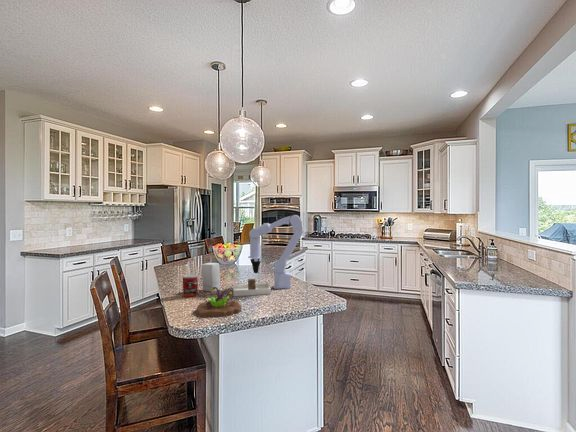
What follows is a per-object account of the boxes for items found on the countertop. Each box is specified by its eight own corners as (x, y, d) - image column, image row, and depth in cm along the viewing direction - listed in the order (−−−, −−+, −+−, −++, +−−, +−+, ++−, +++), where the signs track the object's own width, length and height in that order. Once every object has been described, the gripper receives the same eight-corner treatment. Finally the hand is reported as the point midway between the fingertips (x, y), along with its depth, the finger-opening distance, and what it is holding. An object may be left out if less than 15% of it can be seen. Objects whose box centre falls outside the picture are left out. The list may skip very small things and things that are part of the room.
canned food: (182, 298, 164) (182, 277, 164) (183, 294, 172) (183, 274, 172) (197, 297, 166) (197, 276, 166) (198, 293, 174) (197, 273, 174)
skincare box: (220, 289, 181) (220, 263, 181) (212, 292, 175) (211, 264, 175) (210, 288, 185) (209, 262, 185) (201, 290, 180) (201, 263, 180)
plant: (195, 307, 149) (195, 283, 149) (236, 302, 155) (236, 280, 155) (196, 320, 130) (196, 293, 130) (243, 315, 136) (242, 289, 136)
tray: (268, 287, 183) (268, 283, 183) (270, 293, 170) (270, 288, 170) (234, 289, 180) (233, 285, 180) (233, 296, 167) (233, 290, 167)
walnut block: (255, 289, 177) (255, 278, 177) (255, 291, 173) (255, 280, 173) (248, 289, 177) (247, 279, 177) (248, 291, 173) (248, 280, 173)
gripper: (247, 247, 191) (248, 270, 191) (248, 250, 177) (249, 274, 177) (259, 247, 192) (259, 269, 192) (261, 250, 178) (261, 273, 178)
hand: (255, 271), depth 185 cm, fingers open, 7 cm apart
